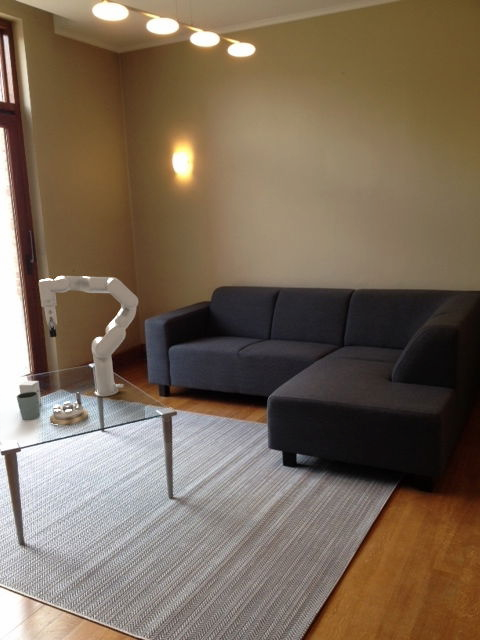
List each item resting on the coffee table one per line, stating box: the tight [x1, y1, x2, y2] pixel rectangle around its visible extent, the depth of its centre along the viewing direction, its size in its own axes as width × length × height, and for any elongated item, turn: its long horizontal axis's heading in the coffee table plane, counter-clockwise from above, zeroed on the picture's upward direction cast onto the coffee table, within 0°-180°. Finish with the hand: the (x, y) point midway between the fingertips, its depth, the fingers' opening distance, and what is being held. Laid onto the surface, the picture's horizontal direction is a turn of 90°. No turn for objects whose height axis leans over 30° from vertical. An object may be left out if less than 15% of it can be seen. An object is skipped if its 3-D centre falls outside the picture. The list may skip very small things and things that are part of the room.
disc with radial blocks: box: [52, 391, 84, 420], centre depth 283 cm, size 14×14×10 cm
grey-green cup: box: [16, 392, 41, 421], centre depth 289 cm, size 10×10×12 cm
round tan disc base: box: [49, 408, 89, 426], centre depth 285 cm, size 18×18×3 cm
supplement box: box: [18, 380, 42, 405], centre depth 306 cm, size 7×7×13 cm
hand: (53, 334), depth 304 cm, fingers open, 9 cm apart
